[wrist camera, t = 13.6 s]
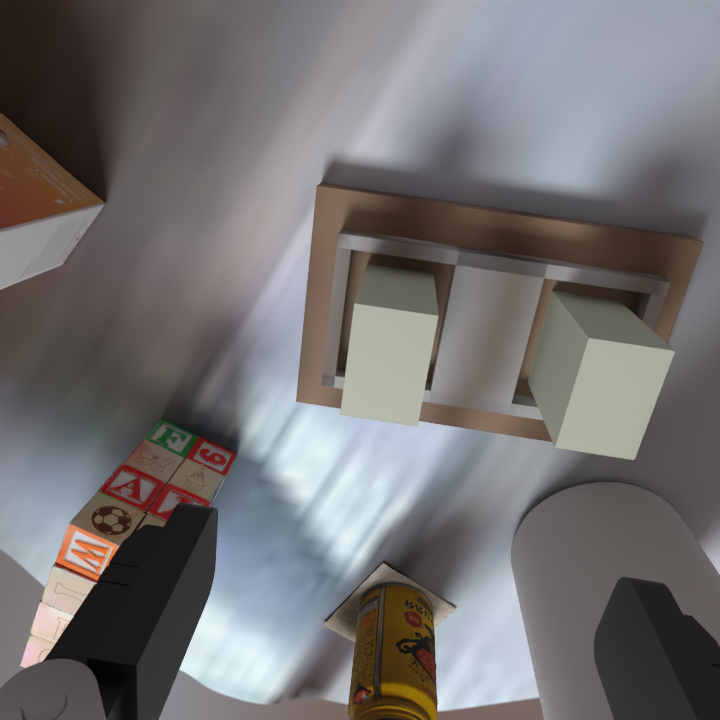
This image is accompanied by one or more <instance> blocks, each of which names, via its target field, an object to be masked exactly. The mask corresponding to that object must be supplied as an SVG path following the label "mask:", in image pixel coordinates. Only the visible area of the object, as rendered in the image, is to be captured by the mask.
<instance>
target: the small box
mask: <svg viewBox="0 0 720 720" xmlns="http://www.w3.org/2000/svg"><path fill="white" fill-rule="evenodd" d="M104 205H105V203H104V202H103V200H101V199H100V198H99V197H97V196H96V195H95V194H94V193H93V192H91V191H90V190H89V189H88V188H86V187H85V186H84V185H83V184H81V183H80V182H79V181H78V180H77V179H76V178H75V177H73V176H72V175H71V174H70V173H69V172H68V171H66V170H65V169H64V168H63V167H62V166H61V165H60V164H58V163H57V162H56V161H55V160H54V159H53V158H52V157H51V156H49V155H48V154H47V153H46V152H45V151H44V150H43V149H41V148H40V147H39V146H38V145H37V144H36V143H35V142H34V141H32V140H31V139H30V138H29V137H28V136H27V135H26V134H24V133H23V132H22V131H21V130H20V129H19V128H18V127H16V126H15V125H14V124H13V123H12V122H11V121H10V120H9V119H8V118H7V117H5V116H4V115H3V114H1V113H0V290H1V289H3V288H6V287H8V286H10V285H13V284H15V283H18V282H20V281H23V280H25V279H28V278H30V277H33V276H36V275H38V274H40V273H43V272H45V271H48V270H51V269H53V268H56V267H58V266H61V265H62V264H63V263H64V261H65V260H66V258H67V257H68V256H69V254H70V253H71V251H72V250H73V249H74V247H75V246H76V244H77V243H78V242H79V240H80V239H81V237H82V236H83V235H84V233H85V232H86V230H87V229H88V228H89V226H90V225H91V223H92V222H93V221H94V219H95V218H96V216H97V215H98V214H99V212H100V211H101V209H102V208H103V207H104Z"/></svg>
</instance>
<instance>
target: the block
mask: <svg viewBox="0 0 720 720" xmlns="http://www.w3.org/2000/svg"><path fill="white" fill-rule="evenodd" d="M674 353H675V350H674V349H672V348H671V347H670V346H669V345H668V344H667V343H666V342H665V341H664V340H662V339H661V338H660V337H659V336H658V335H657V334H656V333H655V332H654V331H653V330H651V329H650V328H649V327H648V326H647V325H646V324H645V323H644V322H643V321H641V320H640V319H639V318H638V317H637V316H636V315H635V314H634V313H633V312H631V311H630V310H629V309H628V308H627V307H626V306H625V305H624V304H623V303H621V302H620V301H619V300H612V299H605V298H598V297H592V296H585V295H578V294H572V293H565V292H558V291H551V295H550V299H549V302H548V306H547V310H546V313H545V317H544V321H543V325H542V328H541V332H540V336H539V339H538V343H537V347H536V350H535V354H534V358H533V362H532V365H531V369H530V373H529V376H528V380H527V382H528V385H529V387H530V389H531V392H532V394H533V396H534V399H535V401H536V404H537V406H538V408H539V411H540V413H541V415H542V418H543V420H544V423H545V425H546V427H547V430H548V432H549V434H550V437H551V439H552V442H553V444H554V446H555V448H560V449H567V450H573V451H579V452H586V453H592V454H598V455H605V456H611V457H617V458H624V459H630V460H635V457H636V455H637V452H638V449H639V447H640V444H641V441H642V438H643V436H644V433H645V430H646V428H647V425H648V422H649V420H650V417H651V414H652V412H653V409H654V406H655V404H656V401H657V398H658V396H659V393H660V390H661V388H662V385H663V382H664V380H665V377H666V374H667V372H668V369H669V366H670V364H671V361H672V358H673V356H674Z"/></svg>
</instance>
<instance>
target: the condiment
mask: <svg viewBox="0 0 720 720" xmlns="http://www.w3.org/2000/svg"><path fill="white" fill-rule="evenodd" d="M356 608H357V610H356ZM454 610H456V608H454V607H453V606H451V605H450V604H448V603H446V602H445V601H444V600H442V599H440V598H439V597H438V596H436V595H435V594H433V593H432V592H430V591H428V590H427V589H425V588H424V587H422V586H420V585H419V584H417V583H415V582H414V581H412V580H411V579H409V578H407V577H406V576H404V575H402V574H400V573H398V572H396V571H395V570H393V569H391V568H390V567H388V566H387V565H385V564H384V563H383V564H382V565H381V566H380V567H379V568H378V569H377V570H376V571H375V572H374V573H372V574H371V575H370V576H369V577H368V579H367V580H366V581H365V582H363V583H362V584H361V585H360V587H359V588H358V589H357V590H356V591H355V592H354V593H353V594H352V595H351V596H350V597H349V599H348V600H347V601H346V602H345V603H344V604H343V605H342V606H341V607H340V608H339V609H338V610H337V611H336V612H335V613H334V614H333V615H332V616H331V618H330V619H329V620H328V621H327V622H326V623H325V624H324V625H323V626H324V627H326V628H328V629H330V630H333V631H335V632H336V633H339V634H340V635H342V636H344V637H345V638H347V639H350V640H351V641H353V642H355V649H354V657H353V667H352V677H351V686H350V695H349V705H348V714H349V717H350V720H437V704H438V702H437V693H436V663H435V635H434V628H435V627H436V626H437V625H438V624H439V623H440V622H441V621H442V620H444V619H445V618H446V617H447V616H448V615H449V614H450V613H452V612H453V611H454Z"/></svg>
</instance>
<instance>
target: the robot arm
mask: <svg viewBox="0 0 720 720" xmlns="http://www.w3.org/2000/svg"><path fill="white" fill-rule="evenodd" d="M217 524H218V511H217V508H214V507H207V506H201V505H195V504H189V503H183V502H179V503H178V504H177V505H176V506H175V508H174V510H173V511H172V513H171V515H170V517H169V518H168V520H167V522H166V523H165V525H164V527H161V526H155V525H149V524H145V525H144V526H143V527H141V528H140V529H139V530H137V531H136V532H134V533H133V534H132V535H130V536H129V537H128V538H126V539H125V540H124V541H123V542H122V543H121V545H120V547H119V548H118V550H117V551H116V553H115V554H114V556H113V557H112V559H111V560H110V562H109V565H108V566H106V568H105V569H104V571H103V572H102V574H101V575H100V577H99V578H98V581H97V584H94V586H93V587H92V589H91V590H90V592H89V593H88V595H87V597H86V598H85V600H84V601H83V603H82V604H81V606H80V607H79V609H78V610H77V612H76V613H75V615H74V616H73V618H72V619H71V621H70V622H69V624H68V625H67V627H66V628H65V630H64V631H63V633H62V634H61V636H60V637H59V639H58V640H57V642H56V643H55V645H54V647H53V648H52V650H51V651H50V653H49V654H48V655H47V656H46V658H45V659H44V660H43V661H42V662H39V663H36V664H34V665H32V666H29V667H27V668H25V669H24V670H22V671H20V672H19V673H17V674H16V675H14V676H13V677H12V678H11V679H9V680H8V682H6V683H5V684H4V685H3V686H2V687H1V688H0V720H158V719H159V717H160V715H161V712H162V710H163V707H164V705H165V702H166V700H167V697H168V695H169V693H170V690H171V688H172V685H173V683H174V680H175V678H176V676H177V673H178V671H179V668H180V666H181V663H182V661H183V658H184V656H185V654H186V651H187V649H188V646H189V644H190V641H191V639H192V636H193V634H194V632H195V629H196V627H197V624H198V622H199V619H200V617H201V614H202V612H203V610H204V607H205V605H206V602H207V600H208V597H209V594H210V591H211V587H212V583H213V578H214V573H215V562H216V543H217ZM594 660H595V664H596V668H597V671H598V674H599V677H600V680H601V683H602V686H603V689H604V692H605V694H606V697H607V700H608V703H609V706H610V709H611V712H612V715H613V718H614V720H720V646H719V645H718V643H717V641H716V640H715V639H714V638H713V637H712V636H711V635H710V634H709V633H708V632H707V631H706V630H705V629H704V628H703V627H702V626H701V625H700V623H699V622H698V621H697V620H696V619H695V618H694V617H693V616H691V615H685V614H683V613H682V611H681V610H680V608H679V606H678V604H677V602H676V600H675V599H674V597H673V595H672V593H671V591H670V590H669V588H668V587H667V586H666V585H665V584H664V583H661V582H655V581H649V580H643V579H637V578H631V577H621V578H620V579H619V580H618V581H617V583H616V585H615V587H614V590H613V592H612V594H611V597H610V599H609V601H608V604H607V606H606V608H605V611H604V613H603V615H602V618H601V620H600V623H599V625H598V627H597V630H596V633H595V637H594Z"/></svg>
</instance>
